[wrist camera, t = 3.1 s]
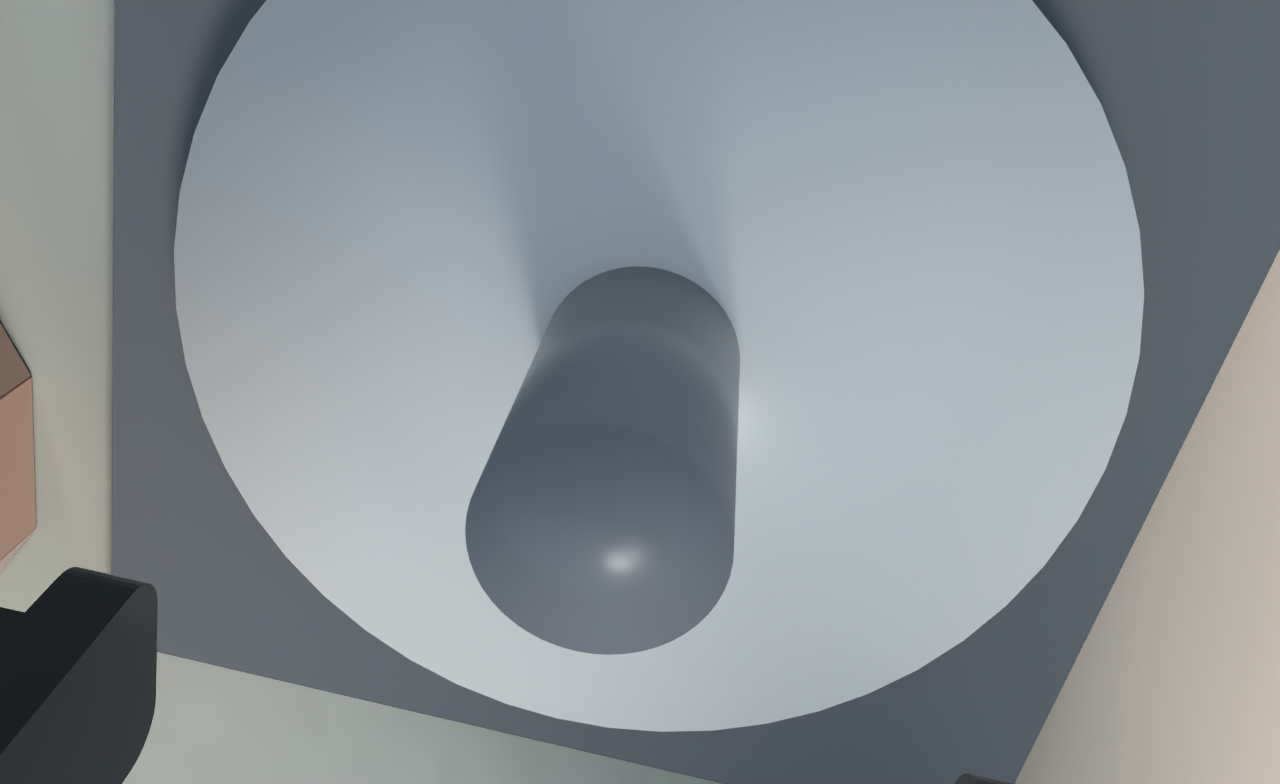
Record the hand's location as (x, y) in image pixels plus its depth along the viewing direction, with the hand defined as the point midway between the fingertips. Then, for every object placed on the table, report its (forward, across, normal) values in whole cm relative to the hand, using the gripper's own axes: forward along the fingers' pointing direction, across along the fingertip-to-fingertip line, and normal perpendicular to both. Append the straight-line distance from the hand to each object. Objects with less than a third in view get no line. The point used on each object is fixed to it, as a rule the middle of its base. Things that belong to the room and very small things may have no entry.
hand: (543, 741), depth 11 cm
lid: (+10, 0, 0) cm, 11 cm away
